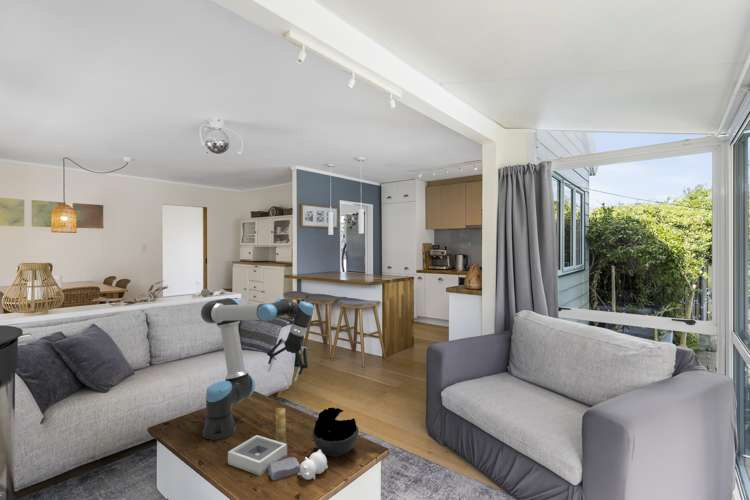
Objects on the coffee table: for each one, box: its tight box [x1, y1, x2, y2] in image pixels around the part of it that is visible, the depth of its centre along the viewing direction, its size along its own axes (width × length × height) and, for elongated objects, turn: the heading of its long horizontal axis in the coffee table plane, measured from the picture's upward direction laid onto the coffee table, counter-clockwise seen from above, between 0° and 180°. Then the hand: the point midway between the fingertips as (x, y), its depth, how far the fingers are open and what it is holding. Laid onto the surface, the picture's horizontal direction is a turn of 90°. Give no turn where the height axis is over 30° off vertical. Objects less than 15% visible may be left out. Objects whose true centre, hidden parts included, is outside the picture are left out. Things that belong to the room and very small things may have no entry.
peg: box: [275, 407, 287, 444], centre depth 169 cm, size 4×4×16 cm
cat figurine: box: [297, 449, 329, 480], centre depth 146 cm, size 9×11×12 cm
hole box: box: [227, 434, 288, 476], centre depth 157 cm, size 18×16×5 cm
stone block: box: [267, 456, 301, 482], centre depth 149 cm, size 12×5×10 cm
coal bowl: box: [312, 407, 360, 458], centre depth 161 cm, size 20×20×19 cm
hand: (282, 375), depth 177 cm, fingers open, 13 cm apart
